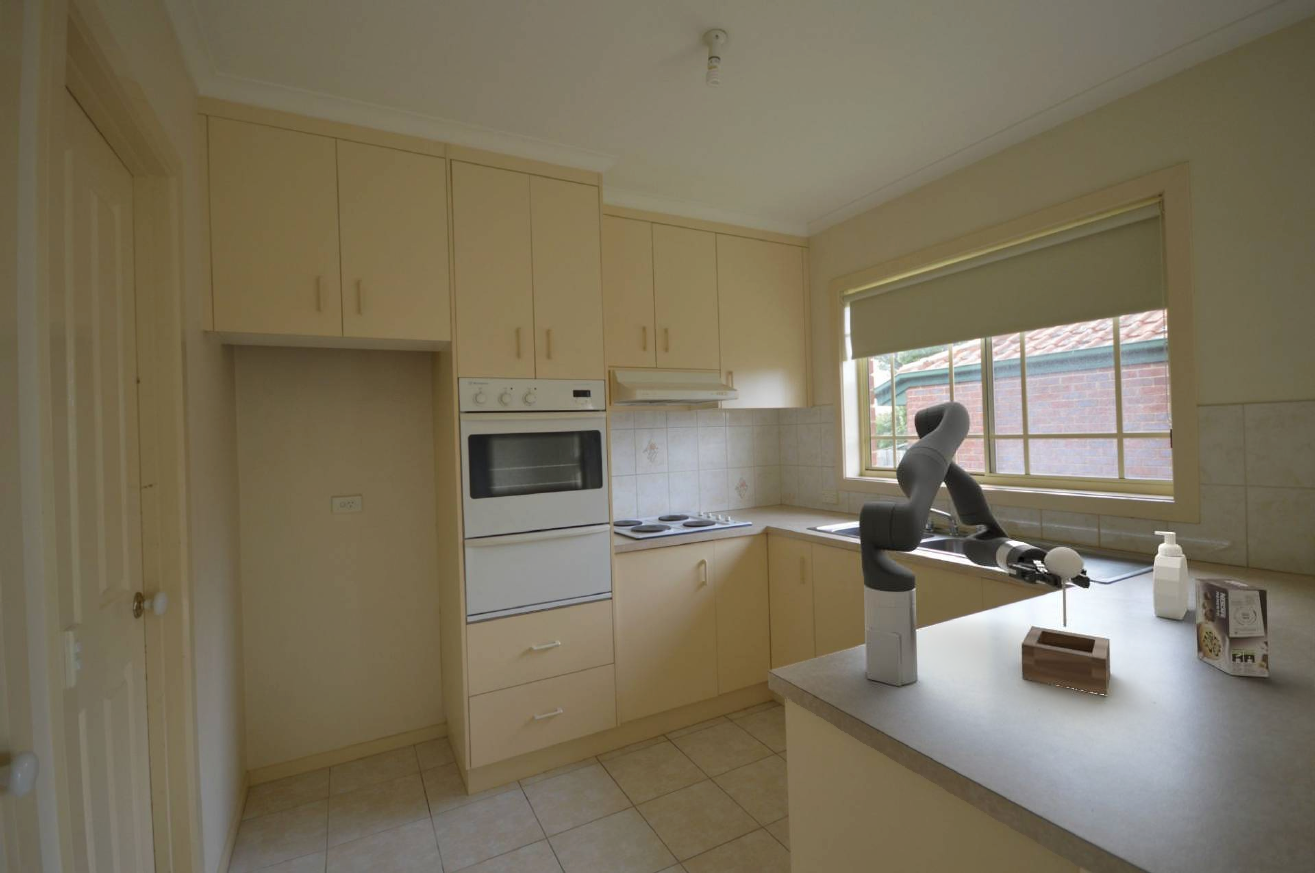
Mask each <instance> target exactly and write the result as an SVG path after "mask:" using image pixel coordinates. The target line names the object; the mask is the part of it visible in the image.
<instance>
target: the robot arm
mask: <svg viewBox="0 0 1315 873" xmlns="http://www.w3.org/2000/svg"><path fill="white" fill-rule="evenodd" d="M913 422H914V427H915V431H916V435H917V436H918V438H919V440H917V441H916V442H914V443H913V444H912V445H911V446H910V447H909V448H908V449H907V450H906V451H905V452H904V454H903V456H902V458H901V460H900V461H899V464H898V465H897V468H896V480H897V483H898V485H899V487H900V488H901V491H902V492H903V494H905V496H906V497H907V498H906V499H908V500H907V501H905V502H892V501H891V502H888V501H867V502H866V503H865V504H863V506H862V508H861V510H860V512H859V513H860V514H859V522H858V524H859V525H858V526H859V527H858V528H859V541H860V555H861V568H862V569H861V570H862V575H863V594H864V596H863V598H864V603H863V604H864V606H863V608H864V636H865V637H864V639H865V641H864V642H865V645H864V646H865V674H866V678H867V679H868V680H871V681H876V682H879V683H884V684H888V685H893V686H895V687H902V686H904V685H909V684H912V683H916V681H917V680H918V646H917V644H918V643H917V642H918V641H917V639H918V638H917V636H918V635H917V605H916V604H917V599H916V598H917V596H916V593H917V592H916V576H915V572H913V571H912V570H911V569H910V568H908V567H905V566H903V565H901V564H899V563H898V562H896V561H894V560H893V559H892V558H891V557H890V556H889V555H888V554H887V552H886V551H888V552H898V553H912V552H914V551H915V550H916V549H917V548H918V547H919V546H920V544H921V542H922V540H923V537H924V534H925V531H926V528H927V523H928V520H929V517H930V513H931V509H932V506H933V503H934V502H935V499H936V496H937V494H938V492H939V490H940V488H941V486H942V484H943V483H944V485H945V486H946V489H947V491H948V493H949V496H950V497H951V498H950V499H951V500H952V503H953V506H954V508H955V510H956V512H957V513H956V514H957V516H958V519H959V521H960V522H961V524H963V525H964V526H966V527H967V526H968V527H972V526H973V527H974V526H982V525H983V526H984V527H985V529H984V530H981V531H979V532H976V533H973V534H970V535H968V536H966V537H965V538H964V539H963V541H962V544H961V550H962V552H963V554H964V556H965V557H966V558H967V559H968V560H969V561H970V562H971V563H973V564H975V565H977V566H981V567H987V568H999V569H1000V570H1003V571H1004V572H1005V573H1007V574H1008V577H1009V578H1013V579H1016V580H1021V581H1023V582H1024V583H1027V584H1031V585H1040V584H1041V585H1048V586H1050V587H1053V588H1055V589H1063V579H1062V578H1061V577H1060V576H1058V575H1055V574H1052V573H1050V572H1049V570H1048V569H1047V567H1046V565H1045V562H1044V558H1045V557H1046V555H1047V554H1048V552H1047V551H1046V550H1045V549H1044V550H1043V549H1041V548H1039V547H1036V546H1033V545H1032V544H1028V543H1025V542H1022V541H1017V540H1014V539H1011V537H1010V534H1008V533H1007V531H1006V530H1005V529H1004V528H1003V527H1002V525H1001V524H1000V522H998V519H997V518H996V517H995V516H994V514H993V511H992V510H991V507H990V505H989V503H988V500H987V497H986V495H985V493H984V490H983V488H982V486H981V485H980V484H979V482H978V481H977V480H976V479H975V478H974V477H973V476H972V475H971V474H970V473H968V472H967V471H966V470H965V469H964V468H962V467H961V466H960V465H959V464H957V463H956V462H955V461H954V460H953V458H954V457H955V454H956V453H957V450H958V449H959V448H960V446H961V445H962V444H963V442H964V440H965V439H966V437H967V436H968V435H969V434H968V433H969V430H970V426H971V420H970V414H969V411H968V409H967V408H966V407H965V406H964V404H962V403H960V402H958V401H948V402H947V401H946V402H944V403H943V402H942V403H939V404H937V405H932V406H929V407H926V408H922V409H920V410H918V411H917V412H916V413H915V415H914V421H913ZM1087 572H1088V571H1087V569H1086V568H1085V567H1084V566H1083V569H1082V571H1081V573H1080V574H1079V575H1078V576H1076V577H1074V578H1071V579H1066V584H1067V583H1070V584H1072V585H1073V584H1074V585H1075V586H1077V587H1080V588H1082V589H1089V588H1090V586H1091V578H1090V577H1089V576H1088V575H1087Z"/></svg>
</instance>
